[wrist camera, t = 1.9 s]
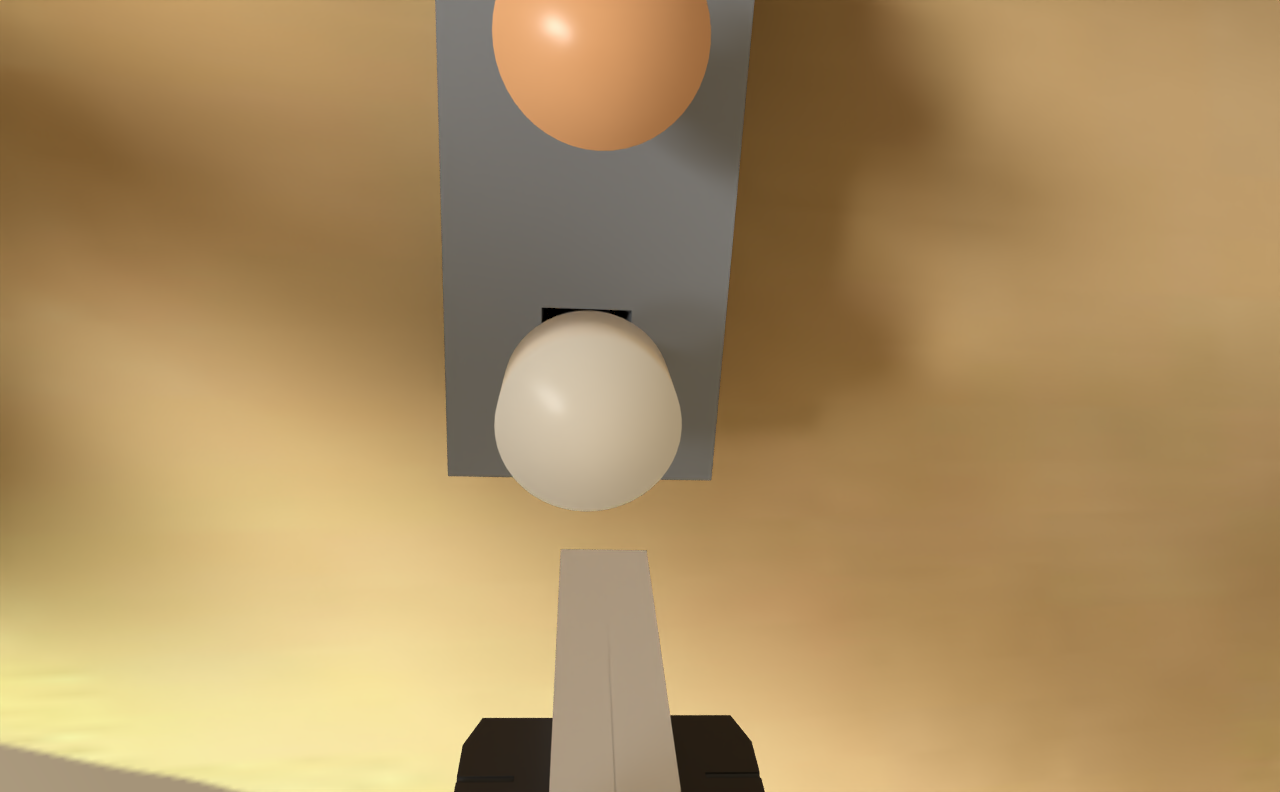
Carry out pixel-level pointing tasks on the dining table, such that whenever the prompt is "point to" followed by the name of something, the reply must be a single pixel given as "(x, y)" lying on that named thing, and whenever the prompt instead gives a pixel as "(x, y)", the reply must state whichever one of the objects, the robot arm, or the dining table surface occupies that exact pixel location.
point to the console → (583, 231)
